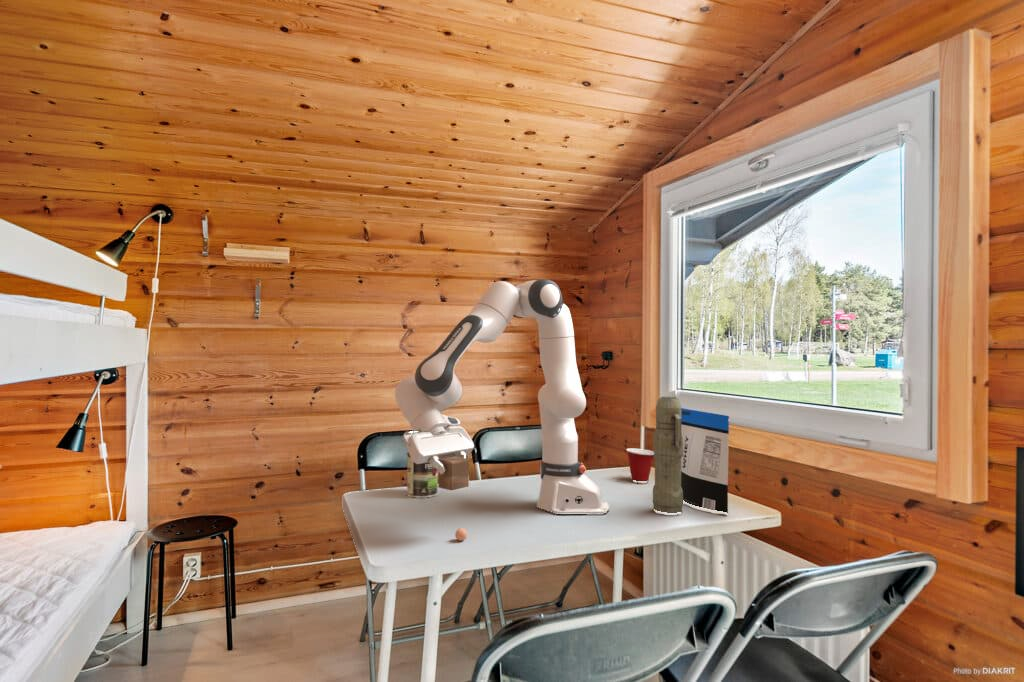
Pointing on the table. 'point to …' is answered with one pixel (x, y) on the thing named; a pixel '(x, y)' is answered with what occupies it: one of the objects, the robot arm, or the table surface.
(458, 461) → the wooden toy cube
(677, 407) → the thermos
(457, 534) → the ball
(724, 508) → the protein powder
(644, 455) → the plastic cup
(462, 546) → the table surface
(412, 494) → the coffee can
